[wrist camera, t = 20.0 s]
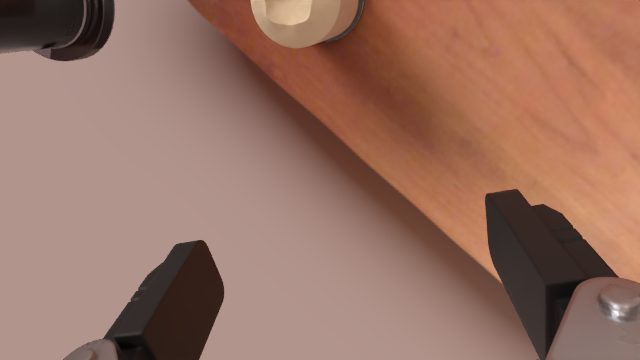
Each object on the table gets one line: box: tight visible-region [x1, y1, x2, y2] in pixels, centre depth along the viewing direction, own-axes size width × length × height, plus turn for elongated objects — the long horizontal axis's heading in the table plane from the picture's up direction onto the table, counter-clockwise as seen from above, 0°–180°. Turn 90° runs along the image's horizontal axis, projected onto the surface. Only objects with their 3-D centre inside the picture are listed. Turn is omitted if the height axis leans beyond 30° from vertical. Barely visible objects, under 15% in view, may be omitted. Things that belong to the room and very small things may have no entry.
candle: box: [251, 0, 358, 48], centre depth 27 cm, size 6×6×10 cm
